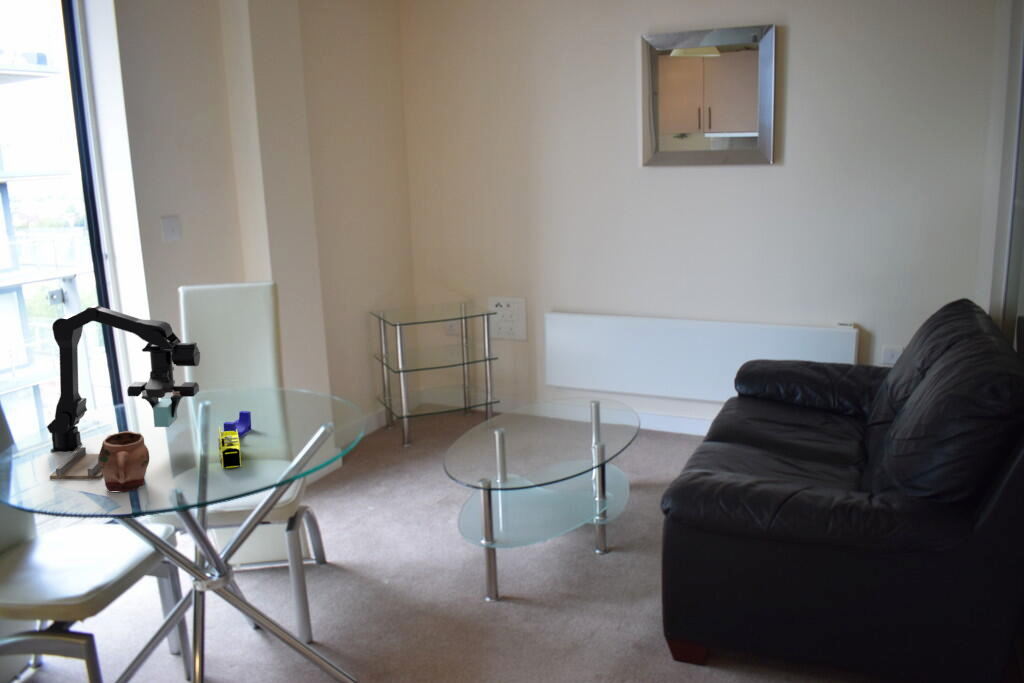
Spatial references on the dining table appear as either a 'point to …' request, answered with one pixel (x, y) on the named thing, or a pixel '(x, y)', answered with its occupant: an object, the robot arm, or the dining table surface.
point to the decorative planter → (123, 461)
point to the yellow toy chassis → (229, 449)
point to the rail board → (79, 467)
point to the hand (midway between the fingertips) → (165, 417)
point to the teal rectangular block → (163, 413)
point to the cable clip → (240, 424)
